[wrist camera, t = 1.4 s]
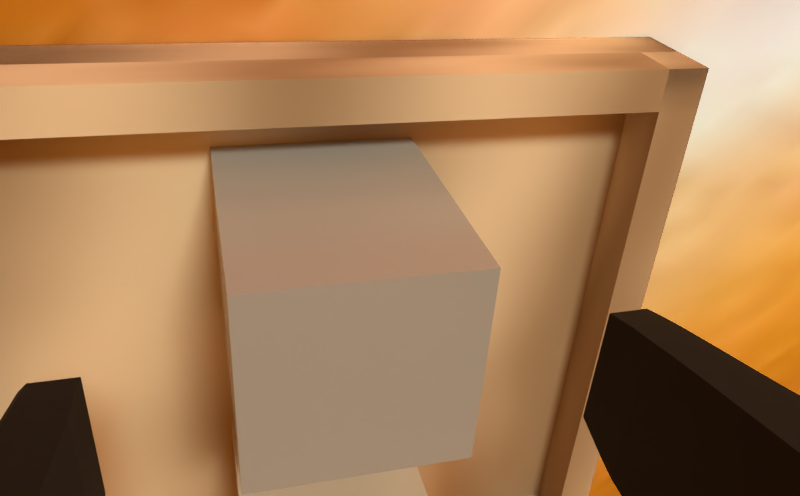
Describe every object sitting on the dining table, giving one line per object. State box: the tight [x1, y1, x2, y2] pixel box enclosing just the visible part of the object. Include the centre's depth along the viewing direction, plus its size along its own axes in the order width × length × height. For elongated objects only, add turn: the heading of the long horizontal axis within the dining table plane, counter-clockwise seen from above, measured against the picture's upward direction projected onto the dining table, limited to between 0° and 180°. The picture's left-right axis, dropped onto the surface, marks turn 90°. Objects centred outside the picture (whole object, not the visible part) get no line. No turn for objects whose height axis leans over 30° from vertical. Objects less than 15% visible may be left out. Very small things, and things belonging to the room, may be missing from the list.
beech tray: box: [0, 37, 709, 496], centre depth 16 cm, size 14×13×2 cm
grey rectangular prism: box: [210, 137, 501, 495], centre depth 12 cm, size 4×4×4 cm
